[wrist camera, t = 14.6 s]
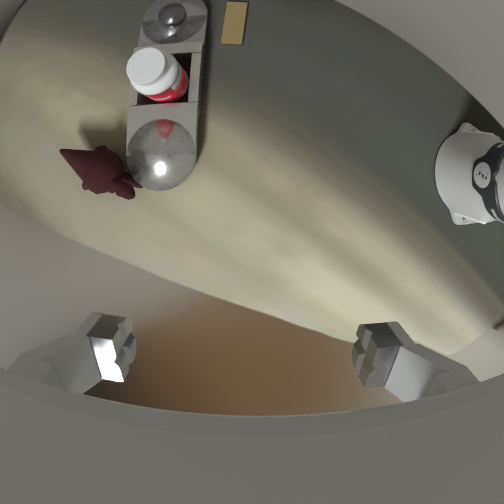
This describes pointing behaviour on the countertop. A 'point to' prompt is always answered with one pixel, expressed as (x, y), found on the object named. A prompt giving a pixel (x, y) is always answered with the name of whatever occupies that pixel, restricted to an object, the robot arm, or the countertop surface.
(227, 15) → the link plate
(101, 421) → the robot arm
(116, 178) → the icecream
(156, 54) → the pill bottle
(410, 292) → the countertop surface
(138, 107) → the flat tray with frame
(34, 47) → the countertop surface
